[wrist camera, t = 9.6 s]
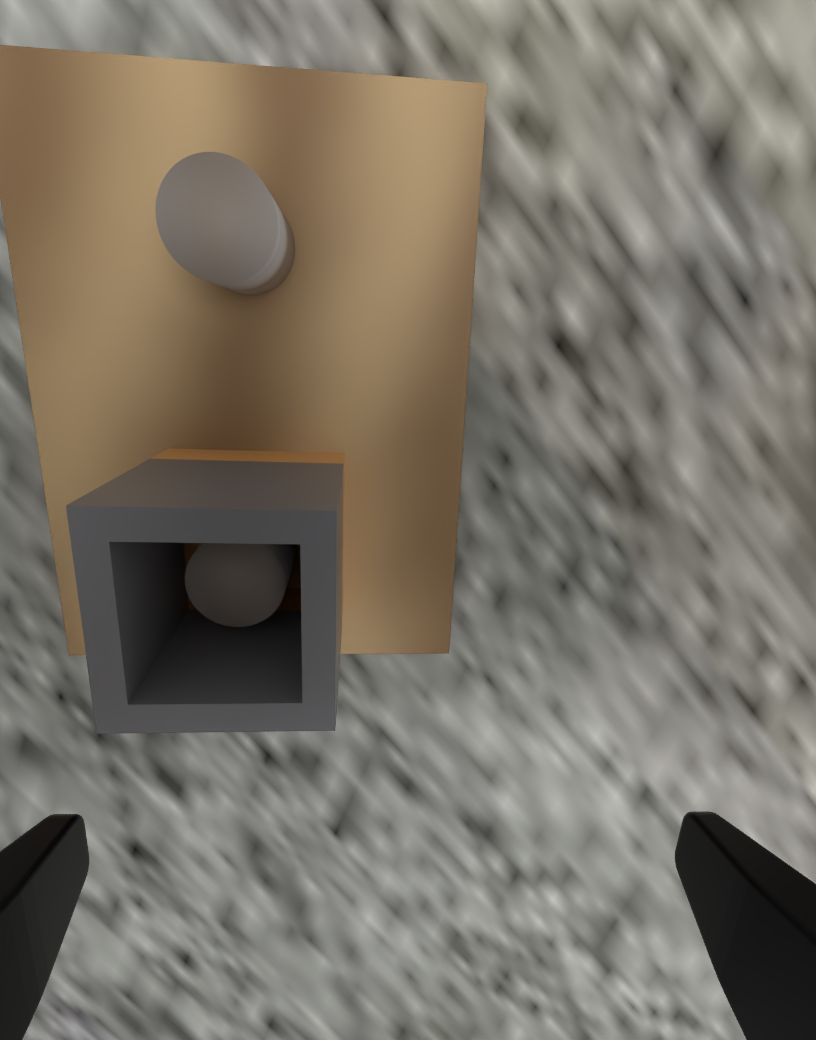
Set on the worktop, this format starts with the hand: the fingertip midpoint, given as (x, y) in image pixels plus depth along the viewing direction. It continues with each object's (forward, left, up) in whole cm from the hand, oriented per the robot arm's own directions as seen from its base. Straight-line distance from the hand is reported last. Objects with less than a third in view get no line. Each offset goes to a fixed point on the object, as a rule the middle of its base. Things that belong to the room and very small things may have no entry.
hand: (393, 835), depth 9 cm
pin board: (+4, -5, -11) cm, 13 cm away
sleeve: (+4, -1, -10) cm, 11 cm away
